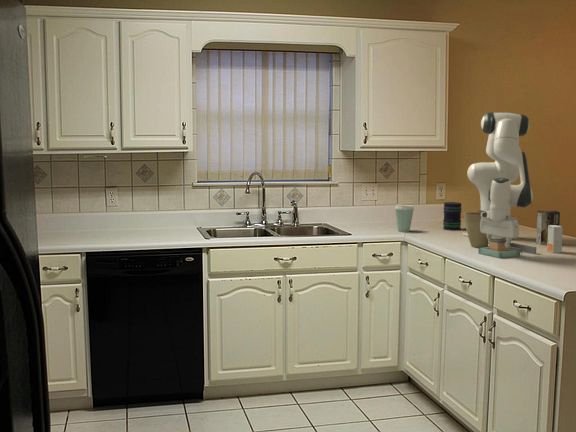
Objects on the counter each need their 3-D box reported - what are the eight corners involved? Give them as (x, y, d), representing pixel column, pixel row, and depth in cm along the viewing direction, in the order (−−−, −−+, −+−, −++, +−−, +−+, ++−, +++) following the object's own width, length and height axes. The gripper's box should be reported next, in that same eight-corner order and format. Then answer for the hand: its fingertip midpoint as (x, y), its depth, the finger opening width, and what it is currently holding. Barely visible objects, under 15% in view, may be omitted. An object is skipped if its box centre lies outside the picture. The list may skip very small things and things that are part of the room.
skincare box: (546, 250, 308) (547, 225, 306) (555, 250, 308) (556, 225, 307) (552, 253, 302) (554, 226, 300) (561, 253, 302) (563, 226, 301)
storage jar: (443, 230, 375) (444, 203, 373) (442, 227, 384) (443, 202, 382) (461, 230, 373) (462, 204, 371) (460, 228, 382) (461, 202, 381)
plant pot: (486, 243, 328) (488, 211, 326) (500, 248, 313) (502, 215, 311) (457, 244, 326) (458, 212, 324) (470, 249, 311) (471, 215, 309)
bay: (494, 250, 308) (494, 244, 308) (511, 248, 313) (511, 242, 313) (518, 255, 295) (518, 248, 295) (536, 253, 300) (536, 247, 300)
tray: (478, 253, 300) (478, 248, 300) (496, 251, 305) (496, 246, 305) (499, 258, 289) (500, 252, 288) (518, 256, 294) (518, 250, 294)
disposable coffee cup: (404, 229, 378) (405, 203, 376) (418, 231, 369) (418, 204, 367) (390, 230, 372) (390, 204, 370) (403, 233, 363) (404, 205, 361)
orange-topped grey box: (488, 253, 298) (489, 239, 297) (499, 252, 301) (499, 238, 300) (497, 255, 293) (497, 241, 293) (507, 253, 296) (508, 240, 295)
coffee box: (554, 242, 331) (555, 210, 329) (559, 244, 325) (560, 211, 323) (535, 242, 331) (537, 210, 329) (540, 244, 325) (541, 211, 323)
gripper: (523, 217, 287) (521, 248, 289) (488, 212, 305) (487, 242, 307) (512, 217, 284) (511, 249, 286) (478, 212, 302) (477, 243, 304)
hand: (498, 245), depth 297 cm, fingers open, 8 cm apart
